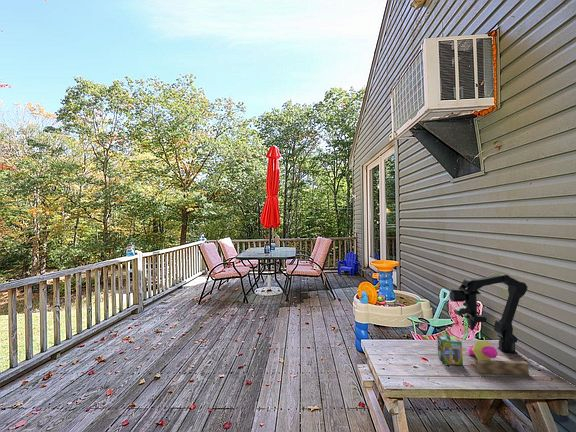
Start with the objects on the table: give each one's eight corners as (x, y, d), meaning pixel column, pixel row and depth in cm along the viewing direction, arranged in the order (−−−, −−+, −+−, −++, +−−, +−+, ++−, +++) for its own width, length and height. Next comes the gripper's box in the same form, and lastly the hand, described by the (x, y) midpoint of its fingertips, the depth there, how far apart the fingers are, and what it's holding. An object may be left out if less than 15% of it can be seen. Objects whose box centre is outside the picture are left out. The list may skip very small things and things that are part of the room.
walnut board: (524, 372, 136) (524, 361, 136) (528, 374, 133) (528, 363, 133) (475, 370, 137) (475, 359, 138) (479, 373, 135) (478, 362, 135)
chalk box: (463, 365, 142) (462, 335, 143) (443, 364, 144) (442, 334, 145) (456, 357, 151) (455, 329, 152) (437, 356, 153) (436, 327, 154)
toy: (484, 353, 157) (473, 335, 160) (509, 358, 140) (496, 337, 143) (470, 362, 156) (458, 343, 158) (493, 368, 139) (480, 347, 141)
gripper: (448, 297, 171) (448, 324, 171) (464, 306, 153) (465, 336, 152) (467, 297, 170) (468, 324, 170) (486, 306, 152) (487, 336, 151)
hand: (471, 329), depth 161 cm, fingers closed
